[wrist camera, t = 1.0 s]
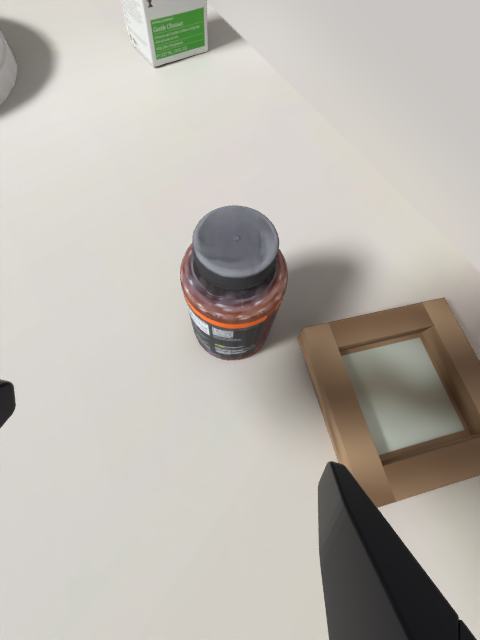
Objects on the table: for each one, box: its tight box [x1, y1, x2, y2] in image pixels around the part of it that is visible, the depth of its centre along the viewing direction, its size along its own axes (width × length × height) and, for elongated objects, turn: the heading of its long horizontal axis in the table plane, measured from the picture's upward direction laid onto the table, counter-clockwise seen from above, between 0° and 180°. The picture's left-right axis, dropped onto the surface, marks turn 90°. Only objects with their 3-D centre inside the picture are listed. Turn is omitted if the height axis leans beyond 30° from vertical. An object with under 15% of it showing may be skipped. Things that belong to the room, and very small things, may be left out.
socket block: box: [297, 298, 480, 508], centre depth 21 cm, size 12×12×2 cm
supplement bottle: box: [180, 206, 288, 360], centre depth 18 cm, size 6×6×11 cm
